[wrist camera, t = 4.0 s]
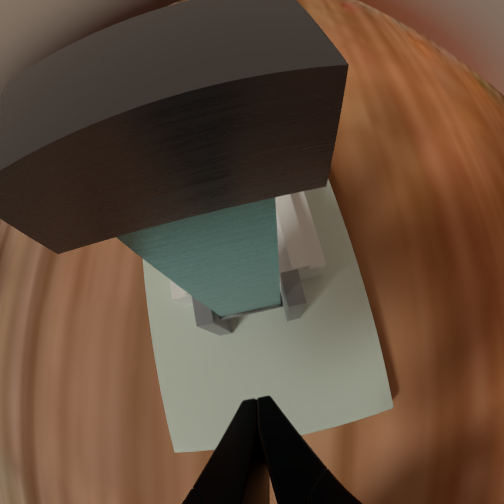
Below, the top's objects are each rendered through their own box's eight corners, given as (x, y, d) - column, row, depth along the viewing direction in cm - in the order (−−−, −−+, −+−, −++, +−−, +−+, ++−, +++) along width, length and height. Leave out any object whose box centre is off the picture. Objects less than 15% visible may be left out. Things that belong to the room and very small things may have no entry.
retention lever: (295, 314, 15) (348, 64, 2) (214, 331, 15) (-37, 193, 2) (285, 275, 16) (282, -15, 3) (207, 292, 16) (8, 81, 3)
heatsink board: (388, 405, 17) (430, 421, 11) (179, 448, 17) (139, 478, 11) (303, 127, 25) (306, 69, 19) (143, 165, 25) (111, 117, 19)
